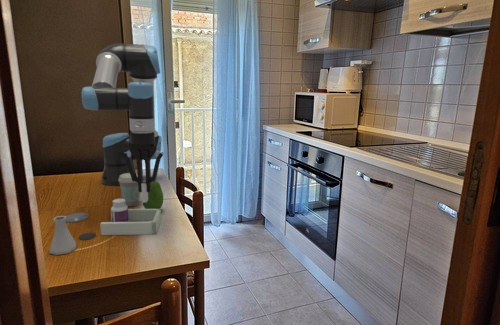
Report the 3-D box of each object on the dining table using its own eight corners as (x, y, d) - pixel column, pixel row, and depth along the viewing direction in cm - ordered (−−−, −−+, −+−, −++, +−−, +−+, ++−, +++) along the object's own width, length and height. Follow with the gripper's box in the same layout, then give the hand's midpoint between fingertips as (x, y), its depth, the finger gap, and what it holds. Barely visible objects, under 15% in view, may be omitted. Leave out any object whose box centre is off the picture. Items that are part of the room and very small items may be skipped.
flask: (56, 243, 100) (52, 212, 98) (81, 243, 101) (78, 212, 99) (43, 255, 93) (39, 223, 91) (70, 255, 94) (67, 223, 92)
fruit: (138, 210, 127) (136, 181, 124) (156, 205, 133) (155, 177, 130) (149, 216, 122) (148, 185, 119) (167, 211, 128) (167, 181, 125)
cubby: (112, 219, 118) (111, 209, 118) (161, 218, 121) (161, 208, 120) (101, 235, 107) (100, 223, 106) (155, 234, 109) (155, 222, 108)
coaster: (68, 213, 122) (68, 212, 122) (91, 213, 123) (91, 212, 123) (59, 222, 114) (59, 221, 114) (83, 222, 115) (83, 221, 115)
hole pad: (82, 233, 107) (81, 232, 107) (98, 232, 108) (98, 232, 108) (75, 240, 103) (75, 240, 103) (92, 240, 103) (92, 239, 103)
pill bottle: (132, 225, 115) (131, 198, 112) (121, 231, 110) (120, 204, 107) (119, 222, 116) (118, 196, 114) (108, 228, 111) (106, 201, 109)
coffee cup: (135, 208, 129) (133, 179, 126) (115, 206, 131) (113, 177, 128) (146, 201, 137) (144, 173, 134) (127, 199, 139) (125, 171, 136)
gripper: (118, 132, 102) (122, 205, 107) (161, 133, 103) (163, 204, 109) (124, 129, 109) (127, 197, 114) (164, 130, 111) (166, 197, 116)
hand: (145, 200), depth 111 cm, fingers closed
